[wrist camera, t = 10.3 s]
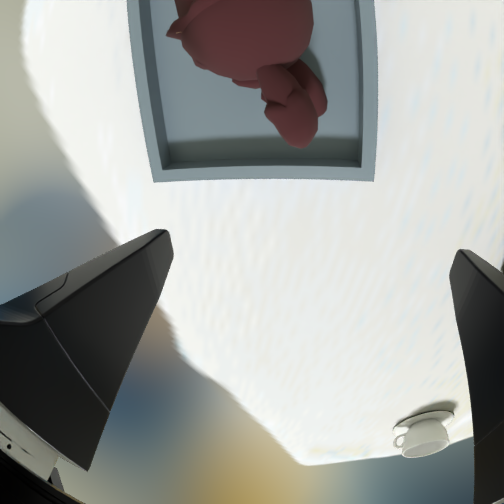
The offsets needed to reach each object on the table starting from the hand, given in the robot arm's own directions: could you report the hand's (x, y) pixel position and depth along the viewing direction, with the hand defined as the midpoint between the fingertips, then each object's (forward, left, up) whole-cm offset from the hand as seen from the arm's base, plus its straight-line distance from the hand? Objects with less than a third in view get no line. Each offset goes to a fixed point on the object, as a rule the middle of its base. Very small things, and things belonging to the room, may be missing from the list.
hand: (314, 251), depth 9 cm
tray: (+3, -8, -12) cm, 15 cm away
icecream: (+3, -8, -11) cm, 14 cm away
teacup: (-19, +39, -12) cm, 45 cm away
